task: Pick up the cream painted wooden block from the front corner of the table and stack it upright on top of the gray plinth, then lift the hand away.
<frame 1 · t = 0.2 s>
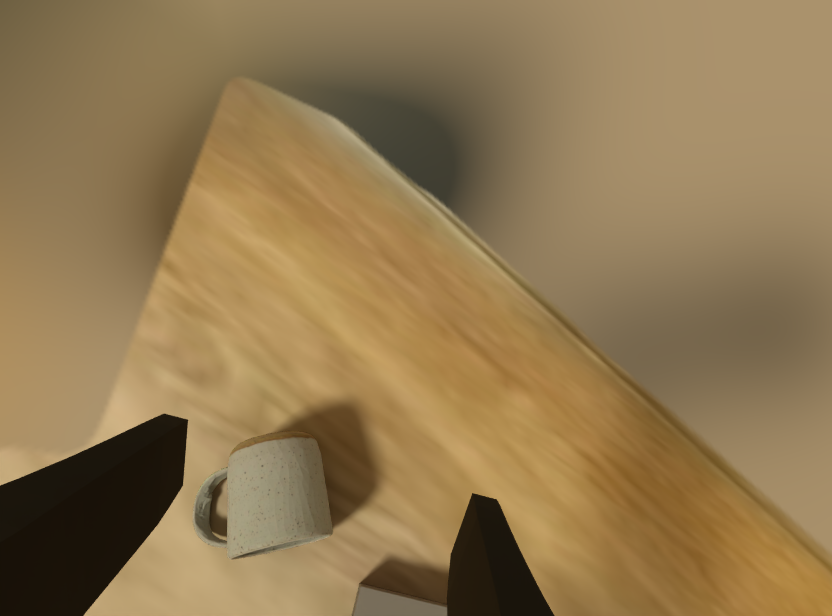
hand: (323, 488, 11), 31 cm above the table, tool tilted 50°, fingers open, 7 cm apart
ceramic mug: (267, 504, 39), on the table
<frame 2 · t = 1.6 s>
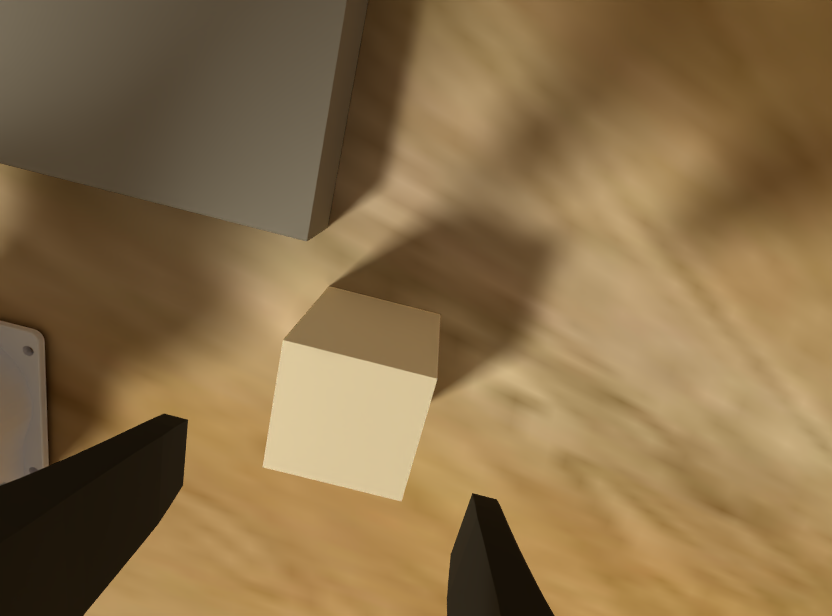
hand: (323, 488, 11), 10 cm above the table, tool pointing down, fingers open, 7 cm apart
cream block: (373, 350, 21), on the table
gray plinth: (198, 29, 17), on the table
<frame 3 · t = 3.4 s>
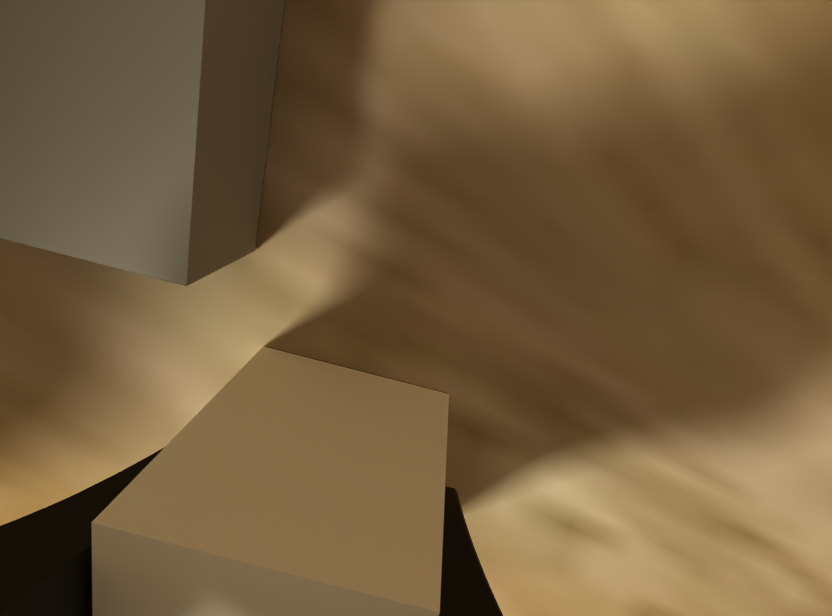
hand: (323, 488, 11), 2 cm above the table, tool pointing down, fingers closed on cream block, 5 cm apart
cream block: (339, 447, 13), on the table, touching gripper
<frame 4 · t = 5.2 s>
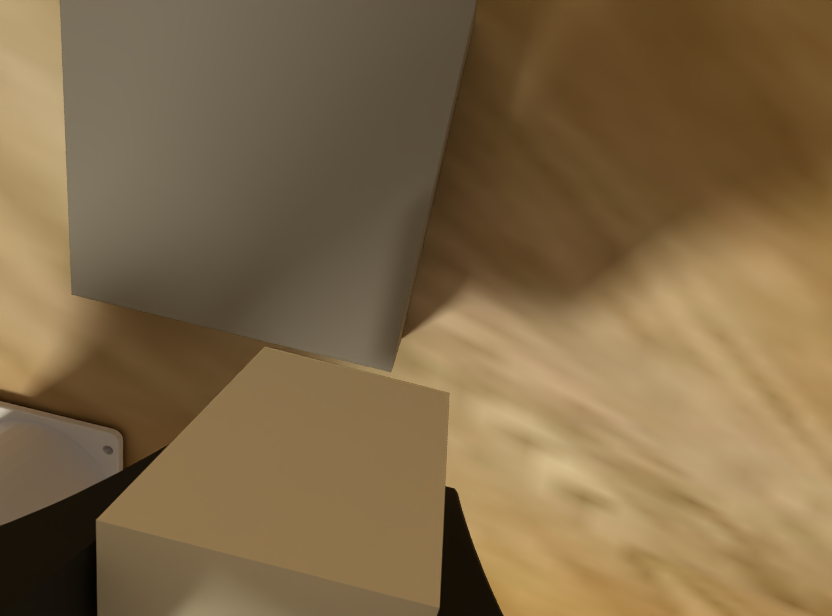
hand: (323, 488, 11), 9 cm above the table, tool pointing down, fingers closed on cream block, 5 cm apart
cream block: (340, 446, 13), point 7 cm above the table, touching gripper
gray plinth: (280, 161, 18), on the table
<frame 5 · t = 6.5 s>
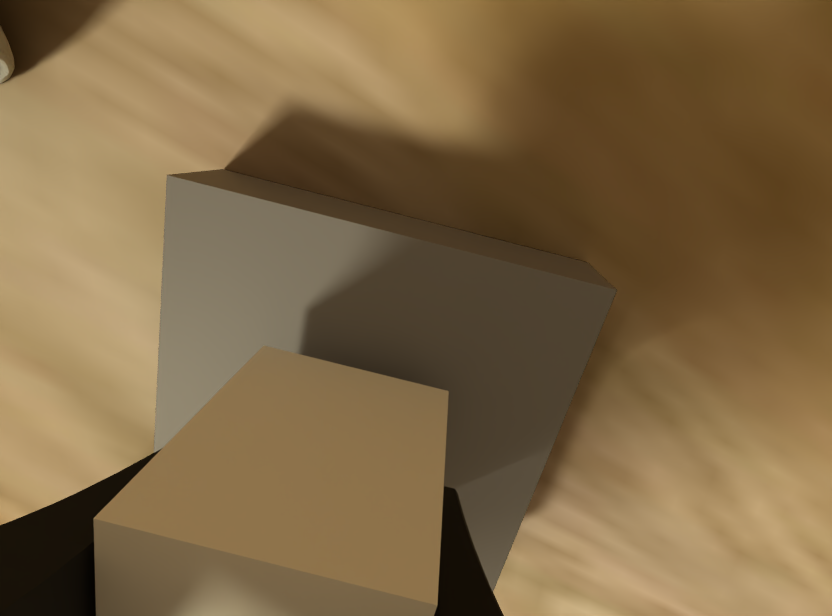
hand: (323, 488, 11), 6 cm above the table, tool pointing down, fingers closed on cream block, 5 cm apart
cream block: (340, 445, 13), point 4 cm above the table, touching gripper
gray plinth: (367, 377, 17), on the table
when the fingers open (6 cm above the table, at t = 7.2 s): cream block drops 1 cm, resting on gray plinth.
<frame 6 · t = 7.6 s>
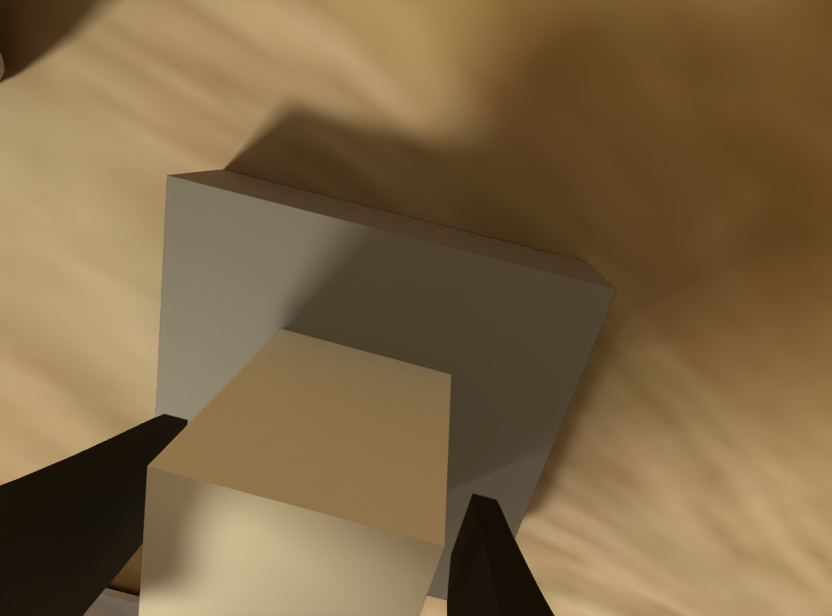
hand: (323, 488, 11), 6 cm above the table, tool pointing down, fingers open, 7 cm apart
cream block: (349, 423, 14), point 3 cm above the table, touching gray plinth
gray plinth: (367, 377, 17), on the table
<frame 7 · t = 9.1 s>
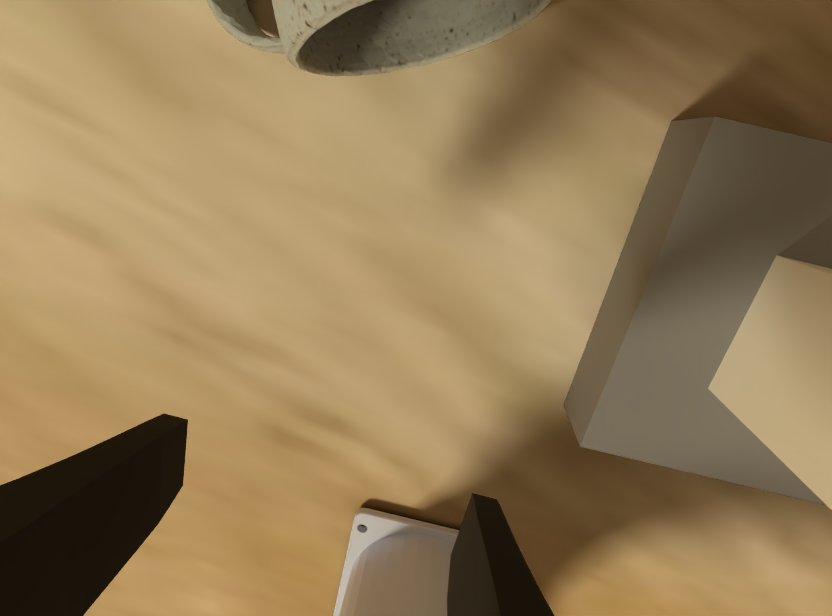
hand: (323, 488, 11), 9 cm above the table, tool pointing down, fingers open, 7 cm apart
cream block: (812, 343, 16), point 3 cm above the table, touching gray plinth
gray plinth: (758, 313, 18), on the table
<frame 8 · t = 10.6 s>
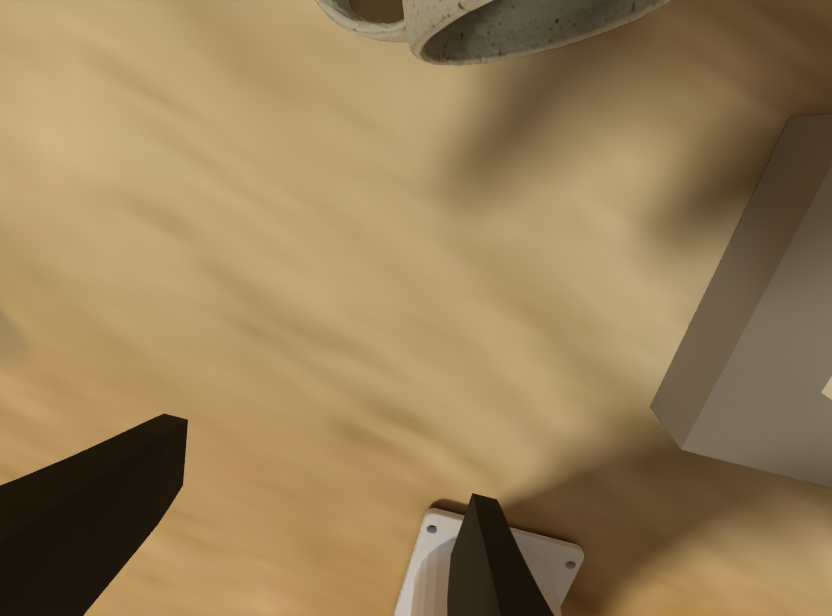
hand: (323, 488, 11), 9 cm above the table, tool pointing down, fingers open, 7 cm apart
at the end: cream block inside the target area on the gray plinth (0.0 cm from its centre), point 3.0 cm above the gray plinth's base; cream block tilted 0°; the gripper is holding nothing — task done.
